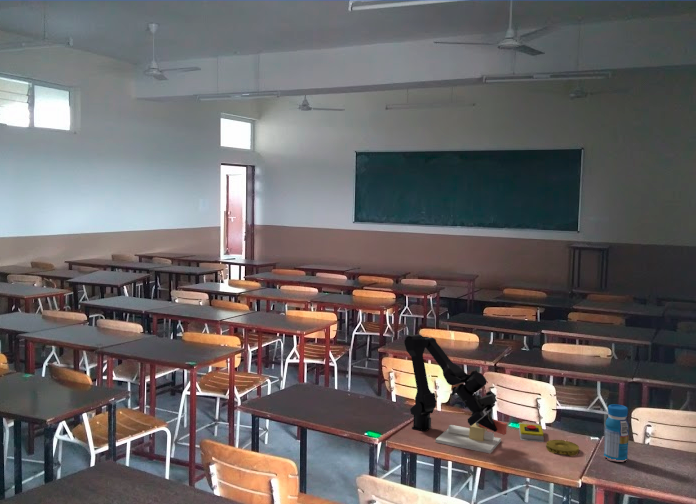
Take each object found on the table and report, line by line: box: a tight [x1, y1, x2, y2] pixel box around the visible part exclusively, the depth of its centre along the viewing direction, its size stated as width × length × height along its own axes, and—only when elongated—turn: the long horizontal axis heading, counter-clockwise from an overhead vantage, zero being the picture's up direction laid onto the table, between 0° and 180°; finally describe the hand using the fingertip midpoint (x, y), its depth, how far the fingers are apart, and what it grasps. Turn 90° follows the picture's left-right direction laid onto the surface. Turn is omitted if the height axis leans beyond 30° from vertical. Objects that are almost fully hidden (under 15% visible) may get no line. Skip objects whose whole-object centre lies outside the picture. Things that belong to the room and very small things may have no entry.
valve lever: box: [476, 418, 508, 436], centre depth 245 cm, size 14×2×4 cm, turn 38°
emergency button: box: [518, 423, 545, 443], centre depth 259 cm, size 9×4×15 cm
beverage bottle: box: [603, 403, 630, 460], centre depth 234 cm, size 8×8×20 cm
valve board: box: [435, 423, 502, 454], centre depth 249 cm, size 22×15×6 cm
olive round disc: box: [545, 439, 580, 457], centre depth 243 cm, size 12×12×2 cm
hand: (496, 430), depth 241 cm, fingers closed
